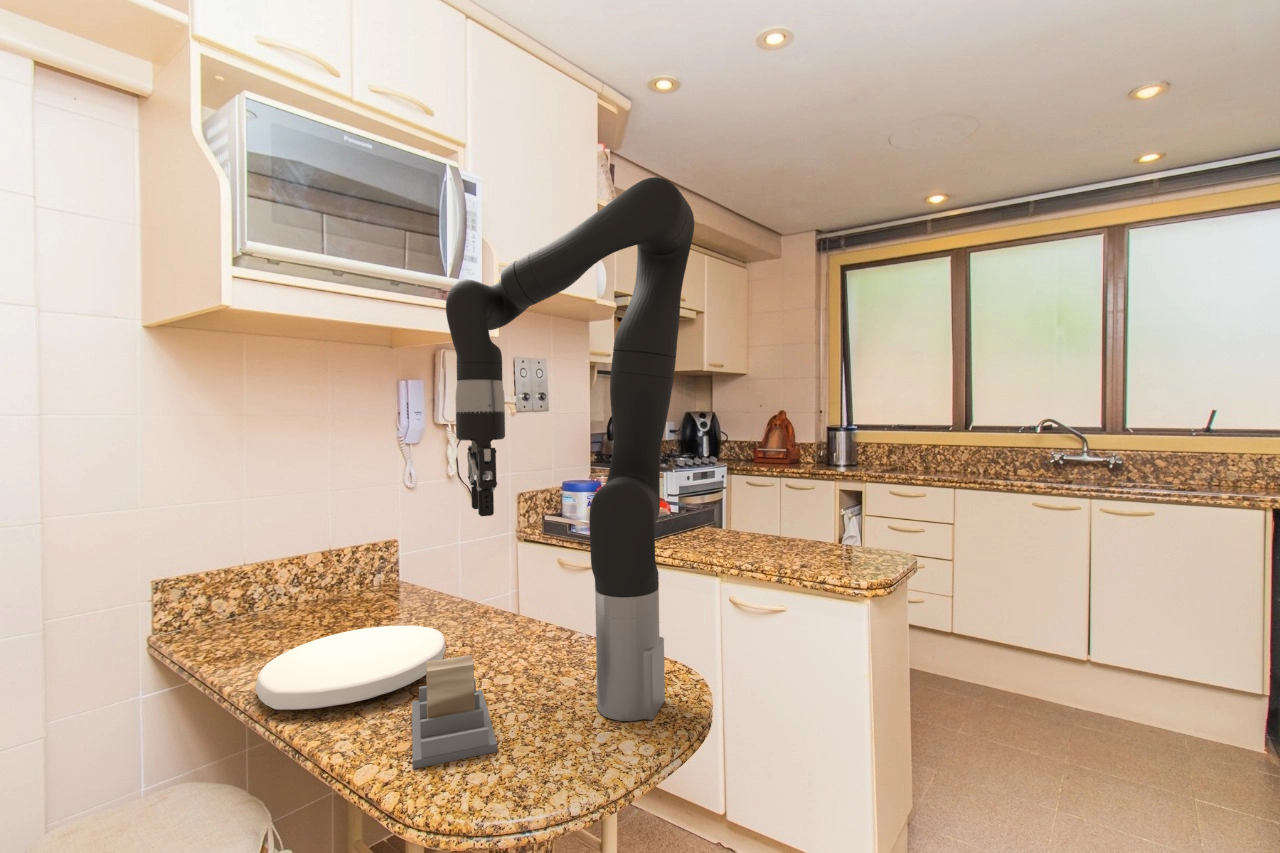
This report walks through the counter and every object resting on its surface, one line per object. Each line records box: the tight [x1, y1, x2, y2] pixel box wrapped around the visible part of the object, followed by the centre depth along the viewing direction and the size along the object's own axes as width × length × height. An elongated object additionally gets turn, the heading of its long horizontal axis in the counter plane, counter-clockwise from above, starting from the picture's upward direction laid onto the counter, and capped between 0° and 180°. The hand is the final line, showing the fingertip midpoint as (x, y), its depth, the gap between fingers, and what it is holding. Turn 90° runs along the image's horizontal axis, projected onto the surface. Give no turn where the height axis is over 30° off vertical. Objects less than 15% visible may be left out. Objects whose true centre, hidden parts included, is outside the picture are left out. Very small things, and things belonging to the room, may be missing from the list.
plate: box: [255, 625, 446, 711], centre depth 100 cm, size 28×6×27 cm
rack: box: [411, 677, 498, 770], centre depth 83 cm, size 17×10×3 cm, turn 21°
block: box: [425, 654, 475, 719], centre depth 83 cm, size 4×6×8 cm, turn 111°
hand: (482, 512), depth 96 cm, fingers open, 8 cm apart
